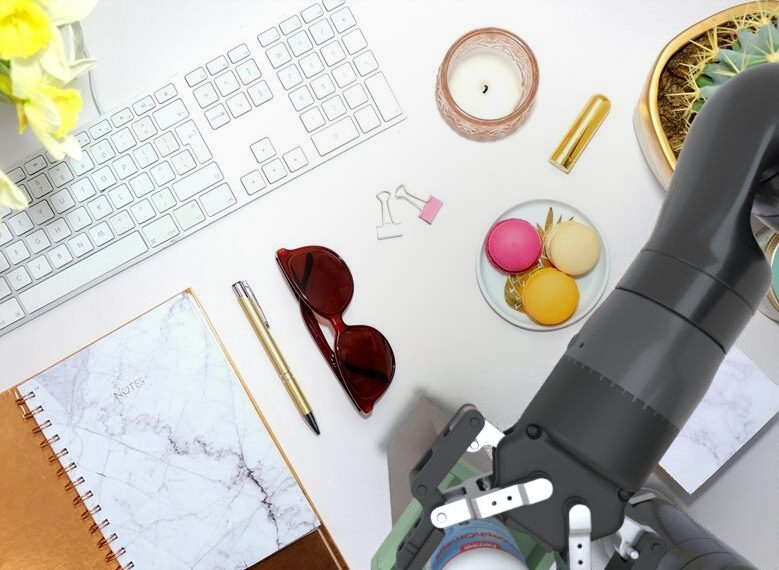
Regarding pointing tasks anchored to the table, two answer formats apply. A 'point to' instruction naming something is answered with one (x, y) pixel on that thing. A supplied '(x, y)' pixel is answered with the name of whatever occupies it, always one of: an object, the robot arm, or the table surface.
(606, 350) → the robot arm
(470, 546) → the pill bottle
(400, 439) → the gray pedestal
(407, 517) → the tray
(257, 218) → the table surface
